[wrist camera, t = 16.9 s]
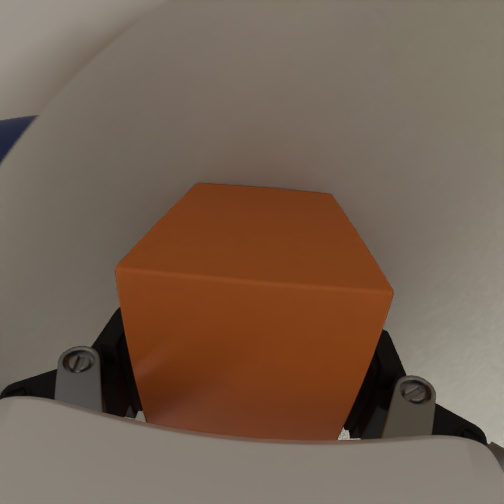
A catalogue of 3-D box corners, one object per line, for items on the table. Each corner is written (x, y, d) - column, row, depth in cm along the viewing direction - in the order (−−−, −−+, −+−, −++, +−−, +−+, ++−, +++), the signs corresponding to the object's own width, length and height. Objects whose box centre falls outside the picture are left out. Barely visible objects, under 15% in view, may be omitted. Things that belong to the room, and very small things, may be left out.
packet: (198, 365, 15) (166, 487, 9) (196, 182, 12) (112, 266, 5) (299, 374, 15) (305, 500, 9) (332, 193, 12) (396, 291, 5)
